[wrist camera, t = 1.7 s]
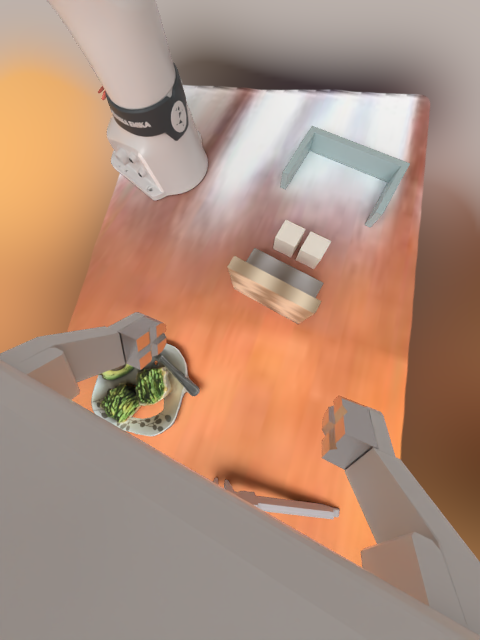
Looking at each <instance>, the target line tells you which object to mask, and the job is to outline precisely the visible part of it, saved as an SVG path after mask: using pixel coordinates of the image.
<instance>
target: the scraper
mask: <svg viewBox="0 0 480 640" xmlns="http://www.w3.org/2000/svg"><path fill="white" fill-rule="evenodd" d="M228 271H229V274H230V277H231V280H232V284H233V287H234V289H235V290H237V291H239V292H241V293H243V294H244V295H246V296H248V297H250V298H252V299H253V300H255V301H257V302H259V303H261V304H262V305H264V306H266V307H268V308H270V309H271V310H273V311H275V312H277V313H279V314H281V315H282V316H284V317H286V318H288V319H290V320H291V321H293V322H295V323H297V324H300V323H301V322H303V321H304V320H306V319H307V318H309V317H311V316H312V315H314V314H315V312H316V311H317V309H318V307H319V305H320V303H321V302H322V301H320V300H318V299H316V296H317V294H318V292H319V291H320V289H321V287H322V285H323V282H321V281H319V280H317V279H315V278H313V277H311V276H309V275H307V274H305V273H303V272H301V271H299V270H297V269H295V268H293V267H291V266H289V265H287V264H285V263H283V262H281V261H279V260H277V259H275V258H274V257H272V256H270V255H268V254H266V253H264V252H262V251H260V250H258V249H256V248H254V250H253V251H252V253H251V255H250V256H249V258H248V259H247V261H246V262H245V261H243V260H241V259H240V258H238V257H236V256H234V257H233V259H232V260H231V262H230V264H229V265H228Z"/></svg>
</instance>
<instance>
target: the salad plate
mask: <svg viewBox="0 0 480 640" xmlns="http://www.w3.org/2000/svg"><path fill="white" fill-rule="evenodd" d="M155 361H158V364H157V365H155V364H154V362H155ZM98 375H99V376H98V378H97V381H96V384H95V387H94V390H93V394H92V400H91V403H92V409H93V411H94V413H95V414H96V415H98V416H99V417H101V418H103V419H105V420H106V421H108V422H110V423H112V424H113V425H115V426H117V427H119V428H120V429H122V430H125V431H128V432H133V433H135V434H140V435H145V436H155V435H158V434H161V433H163V432H164V431H165V430H167V429H168V428H170V427H171V426H172V425H173V424H174V422H175V420H176V417H177V414H178V412H179V409H180V406H181V402H182V398H183V396H184V394H185V392H188V393H189V394H190V395H192V396H196V395H198V393H199V392H200V390H199V387H198V386H197V385H196V384H195V383H194V382H193V381H191V380H190V378H189V376H188V371H187V363H186V361H185V359H184V357H183V355H182V354H181V352H180V350H178V349H177V348H176V347H174V346H172V345H170V344H167V343H166V346H165V347H164V349H163V351H162V352H161V353H160V354H159V355H156V356H152V360H151V362H149V363H148V364H147V365H146V366H145V367H144V368H143V369H141V370H139V369H137V368H135V367H133V366H131V365H128V364H126V363H125V365H122V366H119V367H117V368H114V369H111V370H109V371H106V372H103V373H101V374H98ZM134 385H136V387H134ZM111 389H112V390H111ZM163 398H164V410H163V411H162V412H161V413H159V414H158V415H156V416H153V417H151V418H146V419H140V418H133V417H132V416H133V415H134V414H135V412H136V411H137V410H138V409H139V408H140V406H141V405H143V406H146V405H153V404H156V403H158V402H159V401H160V400H162V399H163Z"/></svg>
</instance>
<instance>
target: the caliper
mask: <svg viewBox="0 0 480 640" xmlns="http://www.w3.org/2000/svg"><path fill="white" fill-rule="evenodd" d="M214 483H216V484H218V478H215V479H214ZM224 489H226V490H228V491H230V492H231V493H233V494H235V495H237V496H238V497H240V498H242V499H244V500H245V501H247V502H249V503H251V504H252V505H254V506H256V507H257V508H259V509H261V510H263V511H266V512H275V513H283V514H292V515H300V516H309V517H318V518H326V519H333V518H334V517H338V516H339V509H338V508H332V507H330V506H327V505H323V504H319V503H310V502H302V501H293V500H285V499H277V498H269V497H261V496H255V493H254V492H247V491H239V492H234V490H233V488H232V486H231V484H230V482H229V481H228V480H226V479H225V483H224Z"/></svg>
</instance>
